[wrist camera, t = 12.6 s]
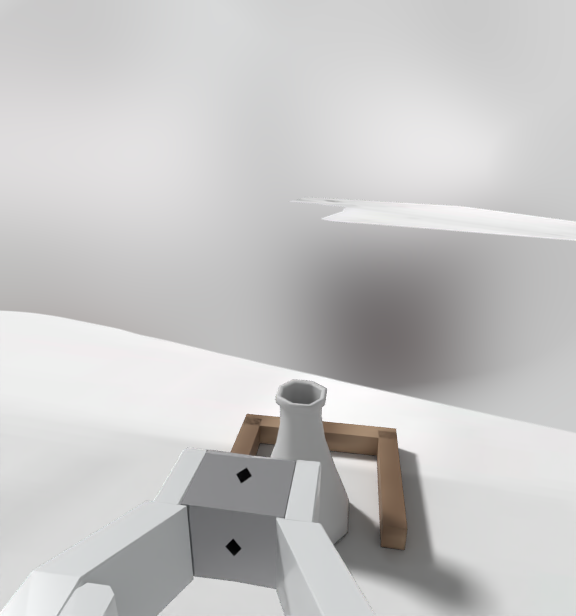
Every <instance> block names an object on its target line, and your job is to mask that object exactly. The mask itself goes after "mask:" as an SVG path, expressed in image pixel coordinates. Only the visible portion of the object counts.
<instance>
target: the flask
mask: <svg viewBox="0 0 576 616" xmlns="http://www.w3.org/2000/svg"><path fill="white" fill-rule="evenodd" d="M326 394H327V388H325V387H323V386H321V385H319V384H317V383H315V382H313V381H307V380H296V379H293V380H291V381H289V382H287V383H284V384H282V385H280V386H279V388H278V391H277V394H276V398H275V400H276V403H277V404H278V405H280V426H279V431H278V436H277V441H276V444H275V447H274V449H273V452H272V454H271V457H270V458H279V459H289V460H304V461H315V462H320V463H321V481H320V502H319V519H318V523H320V524H321V525H322V526H323V528H324V530H325V531H326V533H327V535H328V536H329V538H330V540H331V541H332V543H333V545H334V544H335V543H336V542H337V541H338V540H339V539H340V538H342V537H343V536H344V535H345V534H346V533H347V532H348V510H349V499H348V496H347V493H346V491H345V488H344V486H343V484H342V481H341V479H340V476H339V474H338V472H337V469H336V467H335V464H334V461H333V459H332V456H331V453H330V450H329V448H328V445H327V442H326V439H325V435H324V429H323V423H322V417H321V415H322V407H323V406H324V405H325V400H326Z"/></svg>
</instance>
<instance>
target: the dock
mask: <svg viewBox="0 0 576 616" xmlns="http://www.w3.org/2000/svg"><path fill="white" fill-rule="evenodd" d="M322 423H323V429H324V435H325V439H326V442H327V445H328V448H329V450H330V451H339V452H348V453H357V454H366V455H375V456H377V472H378V495H379V517H380V540H381V547H386V548H393V549H401V550H405V543H406V535H407V521H406V513H405V504H404V495H403V486H402V478H401V469H400V460H399V452H398V443H397V434H396V429H394V428H384V427H374V426H364V425H354V424H343V423H333V422H323V421H322ZM279 426H280V417H273V416H263V415H253V414H247V415H246V417H245V420H244V422H243V424H242V427H241V429H240V431H239V434H238V436H237V438H236V441H235V443H234V445H233V448H232V450H231V452H230V453H237V454H245V455H252V456H256V453H257V450H258V448H259V445H260V443H265V444H274V445H275V444H276V441H277V436H278V431H279Z"/></svg>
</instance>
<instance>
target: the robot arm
mask: <svg viewBox="0 0 576 616" xmlns="http://www.w3.org/2000/svg"><path fill="white" fill-rule="evenodd" d="M320 481H321V463H320V462H315V461H304V460H289V459H279V458H270V457H260V456H252V455H245V454H237V453H230V452H223V451H216V450H205V449H198V448H191V447H187V448H186V449H184V450H183V451H182V453H181V454H180V456H179V458H178V460H177V461H176V463H175V465H174V467H173V468H172V470H171V472H170V473H169V475H168V477H167V479H166V480H165V482H164V484H163V486H162V487H161V489H160V491H159V492H158V494H157V496H156V498H155V499H154V501H145V502H143V503H142V504H140V505H139V506H137V507H135V508H134V509H132V510H130V511H129V512H127V513H125V514H124V515H122V516H121V517H119V518H117V519H116V520H114V521H112V522H111V523H109V524H108V525H106V526H104V527H103V528H101V529H99V530H98V531H96V532H94V533H93V534H91V535H90V536H88V537H86V538H85V539H83V540H81V541H80V542H78V543H77V544H75V545H73V546H72V547H70V548H68V549H67V550H65V551H63V552H62V553H60V554H59V555H57V556H55V557H54V558H52V559H50V560H49V561H47V562H46V563H44V564H42V565H41V566H39V567H37V568H36V569H34V570H32V571H31V573H30V574H29V575H28V577H27V578H26V579H25V581H24V582H23V583H22V584H21V586H20V587H19V588H18V590H17V591H16V592H15V594H14V595H13V596H12V597H11V599H10V600H9V601H8V603H7V604H6V605H5V607H4V608H3V609H2V610H1V612H0V616H157V615H158V614H159V613H160V612H161V611H162V610H163V609H164V608H165V607H166V606H167V605H168V604H169V603H170V602H171V601H172V600H173V599H174V598H175V597H176V596H177V595H178V594H179V593H180V592H181V591H182V590H183V589H184V588H185V587H186V586H187V585H188V584H189V583H190V582H191V581H192V580H193V576H195V577H203V578H211V579H219V580H227V581H235V582H240V583H246V584H251V585H257V586H262V587H267V588H273V589H276V591H277V594H278V597H279V600H280V603H281V606H282V609H283V612H284V614H285V616H376V615H375V613H374V611H373V610H372V608H371V606H370V605H369V603H368V601H367V600H366V598H365V596H364V595H363V593H362V591H361V590H360V588H359V586H358V585H357V583H356V581H355V580H354V578H353V576H352V575H351V573H350V571H349V570H348V568H347V566H346V565H345V563H344V561H343V560H342V558H341V556H340V555H339V553H338V551H337V550H336V548H335V546H334V545H333V543H332V541H331V540H330V538H329V536H328V535H327V533H326V531H325V530H324V528H323V526H322V525H321V524H320V523H318V519H319V502H320Z"/></svg>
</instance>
